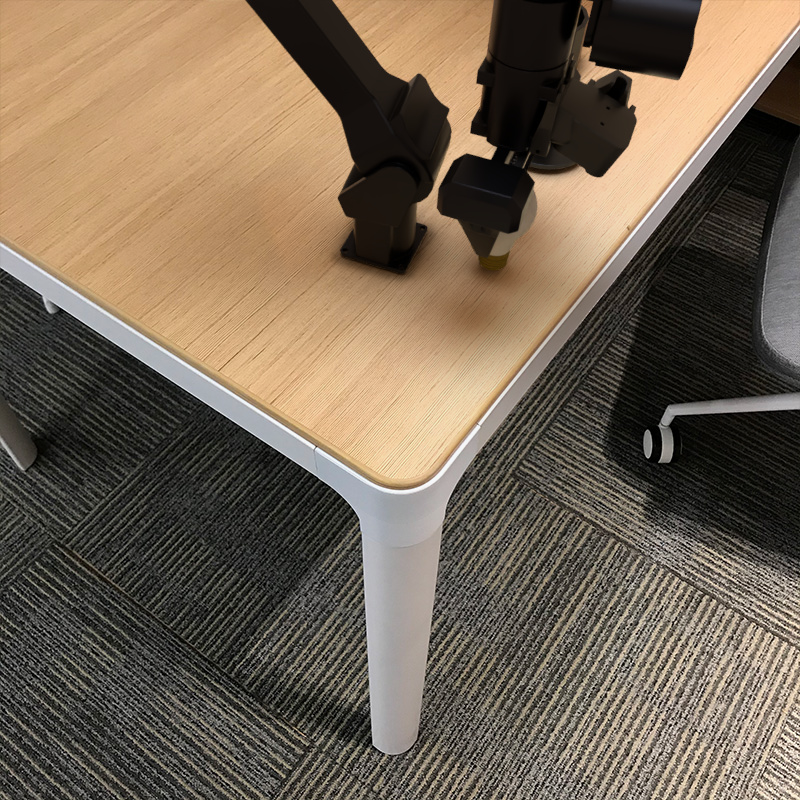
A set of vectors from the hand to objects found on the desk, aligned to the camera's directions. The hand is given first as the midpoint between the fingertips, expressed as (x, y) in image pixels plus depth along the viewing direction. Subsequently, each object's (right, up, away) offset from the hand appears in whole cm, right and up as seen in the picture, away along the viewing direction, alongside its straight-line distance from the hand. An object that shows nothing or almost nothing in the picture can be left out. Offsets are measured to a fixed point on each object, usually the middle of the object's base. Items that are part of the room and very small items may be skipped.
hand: (498, 220), depth 66 cm
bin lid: (+7, +12, +14) cm, 20 cm away
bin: (+8, +25, +24) cm, 35 cm away
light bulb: (0, -3, +5) cm, 6 cm away
